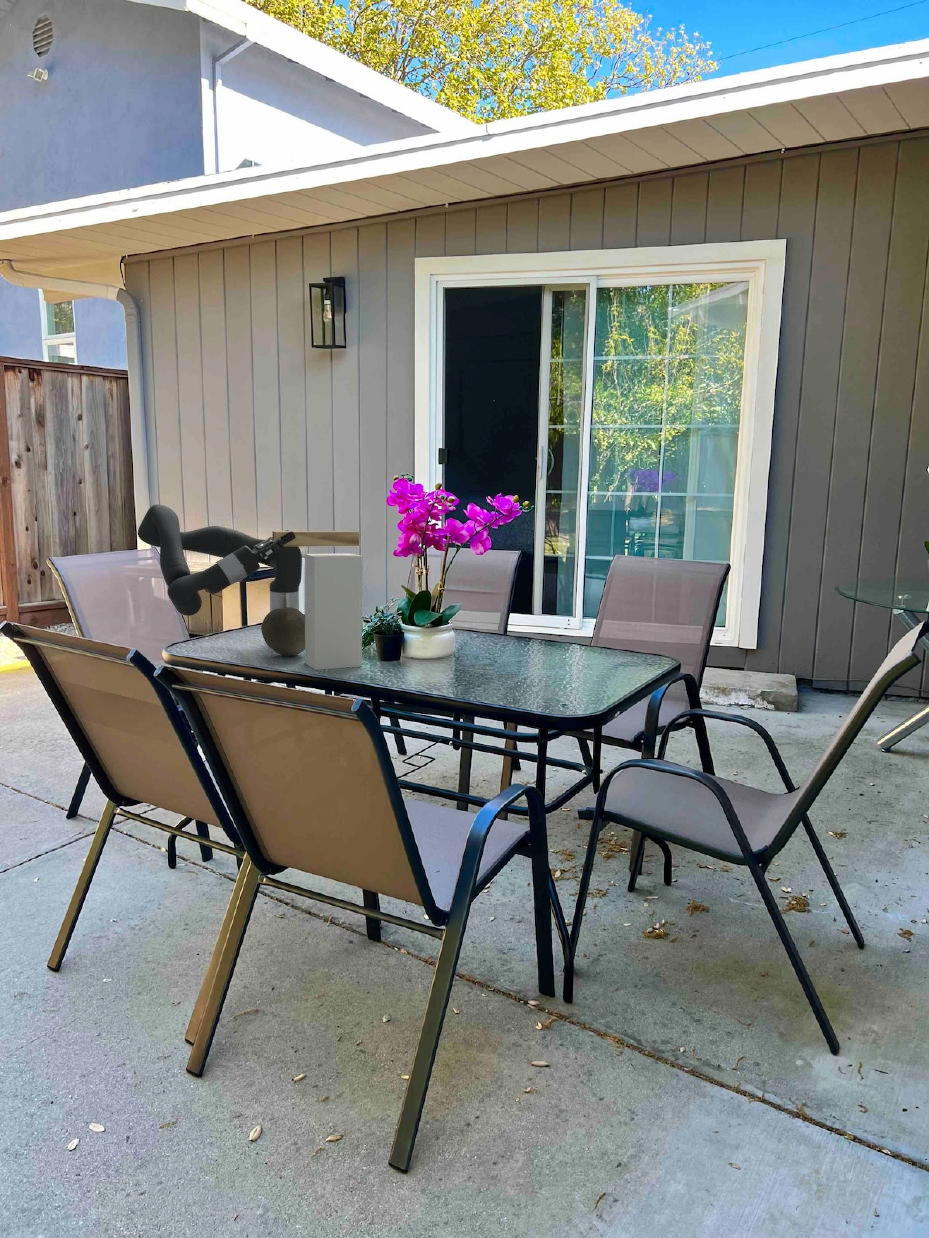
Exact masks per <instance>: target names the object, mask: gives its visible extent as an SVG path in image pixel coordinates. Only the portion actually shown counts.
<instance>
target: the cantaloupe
mask: <svg viewBox="0 0 929 1238" xmlns="http://www.w3.org/2000/svg"><path fill="white" fill-rule="evenodd" d="M260 627H261V634H262V638H263V641H264V643H266V645H267V646H268V647H269V648H270V649H271V650H272V651H274V652H275V653H277V654H279V655H280V656H284V657H295V656H298V655H300V654H302V653H303V652H305V613H303V612H302V611H301V610H300V609H299V610H298V609H295V608H292V607H288V608H278V609H274V610H272V611H271V612H270V611H269V612H268V613H267V614H266V615H265V616H264V619H263V620H262V623H261V625H260Z"/></svg>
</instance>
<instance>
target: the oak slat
mask: <svg viewBox="0 0 929 1238" xmlns="http://www.w3.org/2000/svg"><path fill="white" fill-rule="evenodd" d="M290 531H292V532H293V533H294V535H295V537H296V538H295V539H293V540H292V541H290V542H288V543H286V544H284V545H285V546H284V547H296V546H298V547H360V531H357V530H288V531H286V530H284V531H283V530H279V531H278V530H272V531H271V532H272V533H271V534H272V536H271V537H272V539H273V541H274V540H276V539H277V538H280V537H282V536H284V535H285V534H287V533H289V532H290ZM275 546H276V547H278V546H279V545H278V544H276V545H275Z"/></svg>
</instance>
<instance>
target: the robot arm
mask: <svg viewBox="0 0 929 1238" xmlns="http://www.w3.org/2000/svg"><path fill="white" fill-rule="evenodd" d="M180 527H181V526H180V520H179V517H178V515H177V513H176V512H175V511H174V510H173V509H172V508H170V507H169V506H166V505H164V504H160V503H159V504H153V505H151V506H150V507H149V508H148V510H147V511H146V513H145V515H144V517H143V519H142V520H141V523H140V524H139V527H138V529H137V537H138V538H139V540H141V541H142V542H143V543H145V544H147V545H149V546H151V547H152V546H153V547H156V548H159V564H160V569H161V573H162V577H163V579H164V581H165V583H166V585H167V587H168V588H167V597H168V598H169V600H170V601H171V603H172V604H173V606H174V608H175V609H176V611H177V612H178V613H179V614H180V615H182V616H186V617H189V616H194V615H196V614H197V613H198V612H199V611H200V610H201V607H202V606H203V605H202V603H203V601H202V600H203V599H202V598H201V597H202V596H201V594H200V593H199V592H200V591H203V590H207V591H208V592H209V593H210V594H211V595H216V594H218V593H220V592H222V591H224V590H225V589H226V588H228V587H230V586H233V585H234V584H236V583H237V582H241V581H242V580H243V579H245V578H248V576H251V575H252V574H254V573H255V572H257V571H258V570H260V568H261V565H265V566H267V567H269V568H272V569H275V577H274V579H273V580H272V581H271V582H270V583H269V612H271V611H272V610H274V609H278V608H288V607H292V608H295V609H298V610H299V611H300V609H299V608H300V593H299V590H300V589H299V588H300V585H301V582H302V576H303V575H302V573H303V568H302V567H303V555H302V551H301V548H300V546H296V547H284V546H285V545H284V544H286V543H288V542H290V541H292V540H293V539H295V538H296V537H295V535H294V533H293V532H292V531H293V530H288V529H287V530H286V529H285V531H290V532H289V533H287V534H285V535H284V536H282V537H280V538H277V539H276V540H274V541H273V539H272V536H270V537H268V538H267V539H263V538H261V539H260V538H256V537H253V536H251V535H249V534H246V533H244V532H241V531H239V530H236V529H232V528H229V527H226V526H225V527H224V526H220V525H210V526H206V527H205V526H204V527H201V528H198V529H193V530H189V531H181V528H180ZM276 544H278V545H279V546H278V547H276V546H275V545H276ZM184 551H187V552H193V553H195V552H196V553H200V554H205V555H210V556H213V557H218V558H221V559H220V560H218V561H217V562H216V563H215V564H213V565H211V566H209V567H208V568H206V569H204V570H202V571H198V572H195V573H191V570H190V567H189V564H188V563H187V560H186V555H185V553H184ZM260 564H261V565H260Z"/></svg>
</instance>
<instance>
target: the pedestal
mask: <svg viewBox="0 0 929 1238" xmlns="http://www.w3.org/2000/svg"><path fill="white" fill-rule="evenodd" d="M363 558H364V557H363V555H359V554H355V553H352V552H351V553H349V552H347V553H346V552H345V553H341V552H340V553H304V616H305V650H304V663H305V664H306V665H307V666H309V667H310V668H311V669H313V670H314V671H315V670H318V671H319V670H332V669H345V668H346V669H348V668H347V667H349V668H361V667H362V666H363V573H364V572H363V569H364V568H363Z"/></svg>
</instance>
